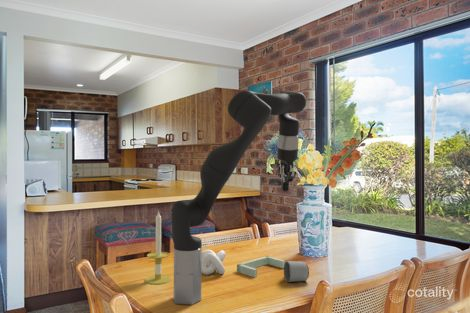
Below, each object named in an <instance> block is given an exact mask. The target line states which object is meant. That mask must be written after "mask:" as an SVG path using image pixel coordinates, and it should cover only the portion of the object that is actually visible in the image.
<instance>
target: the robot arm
mask: <svg viewBox="0 0 470 313" xmlns="http://www.w3.org/2000/svg"><path fill="white" fill-rule="evenodd" d="M306 106H307V98H306V96H305V94H303V93H302V92H298V91H285V90H284V91H283V90H282V91H280V92H278V93H263V92H255V91H252V90H246V89H245V90H241V91H239V92H236V94H235V95H234V96H233V97H232V98H231V99H230V101H229V104H228V105H227V113H228V115H229V116H230V117H231V118H232V120H234V121H235V122H236V123H237V124H239V125H240V126H241V127H242V128H243V131H242V132H241V133H240V135H239V136H238V137H236V138H235V139H233V140H232V141H230V142H227V143H225V144H222V145H219V146H218V147H214V149H212V150H211V151H210V152H209V153H208V154H207V156H206V159H205V161H204V162H203V163H202V165H201V167H200V174H199V177H200V183H201V187H200V190H199V191H198V193H197V195H196V196H195V197H194V198H192V199H191V198H190V199H182V200H177V201H174V203H173V205H172V207H171V211H170V212H171V213H170V214H171V215H170V217H171V219H170V220H171V237H172V241H173V301H174V304H175V305H177V304H178V305H192V306H193V305H195V304H196V303H198V302H200V301H201V300H202V273H201V256H202V252H203V251H202V245H203V243H202V239H201V238H200V237H199V236H194V235H191V228H194V227H199V226H201V225H203V224H204V223H205V222H206V220H207V218H208V216H209V214H210V212H211V210H212V209H213V206H214V204H215V202H216V200H217V198H218V196H220V193H221V191H222V190H223V188H224V186H225V185H226V184H227V182H228V181H229V179H230V177H231V176H232V174H233V173H234V171H235V170H236V167H237V165H238V164H239V163H240V161H241V160H242V158H243V156H244V155H245V152H246V151H247V150H248V149H249V147H250V145H252V143H253V142H254V140H255V139H256V138H257V136H258V135H259V133H260V132H261V131H262V129H263V128H264V127H265V125H266V124H267V122H268V120H269V119H270V117H271V116H278V122H279V123H278V124H279V126H278V127H279V128H278V139H277V147H276V148H277V150H276V158H277V159H278V160H279V162H277V163H276V166H277V171H278V175H279V178H280V181H281V191H283V192H288V191H289V190H290V189H289V186H290V183H292V182H293V180H294V179H295V177H296V176H297V171H295V170H294V167H295V166H294V162H295V161H297V160H298V156H299V154H298V153H299V130H300V120H299V119H298V118H295V117H292V116H290V114H298V113H301V112H302V111H303V110H304V109H305V108H306Z"/></svg>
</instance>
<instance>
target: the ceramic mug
mask: <svg viewBox="0 0 470 313" xmlns="http://www.w3.org/2000/svg"><path fill="white" fill-rule="evenodd" d="M309 268H310V267H309V265H308V264H307V263H306V262H305V261H300V260H299V261H294V260H293V261H291V260H287V261H285V264H284V268H283V276H284V280H285V281H286V282H287V283H293V282H295V283H297V282H305V281H308V279H309V276H310V269H309Z"/></svg>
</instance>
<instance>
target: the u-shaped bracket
mask: <svg viewBox="0 0 470 313" xmlns="http://www.w3.org/2000/svg"><path fill="white" fill-rule="evenodd" d="M285 262H286V261H285V260H283V259H280V258H277V257H272V256H270V255H267V256H266V255H265V256H263V257H258V258H256V259H251V260H248V261H244V262H240V263H237V264H236V272H238V273H241V274H243V275H246V276H249V277H252V278H256V277H258V269H257V268H259V267H262V266H266V265H270V266H273V267H276V268H280V269H284V264H285Z"/></svg>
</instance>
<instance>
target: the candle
mask: <svg viewBox="0 0 470 313" xmlns="http://www.w3.org/2000/svg"><path fill="white" fill-rule="evenodd" d="M146 257H147V258H148V259H154V275H151V276H148V277H146V278H145V280H144V283H146V284H148V285H156V286H157V285H163V284H167V283H169V282H170V281H172V277H171V276H169V275H165V274H164V275H163V274H162V259H165V258H167V257H170V253H169V252H166V251H162V216H161V214H160V210H158V211H157V214H156V216H155V251H154V252H153V251H152V252H149V253H148V254H146Z"/></svg>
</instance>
